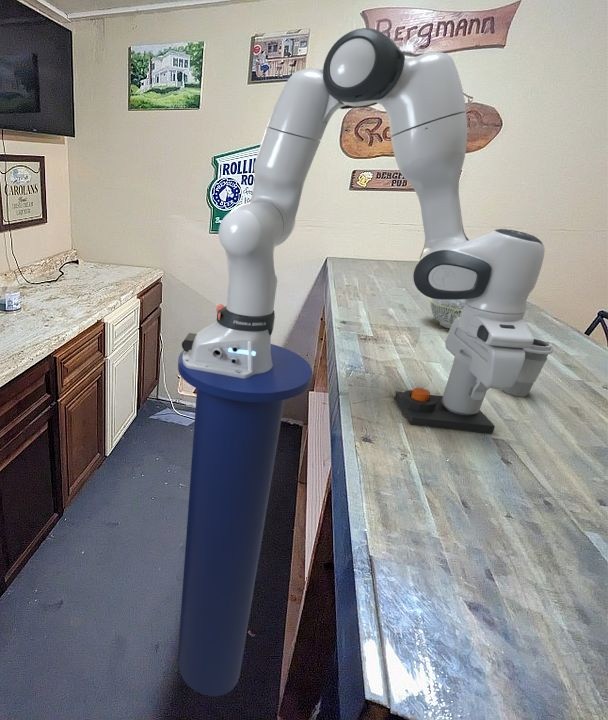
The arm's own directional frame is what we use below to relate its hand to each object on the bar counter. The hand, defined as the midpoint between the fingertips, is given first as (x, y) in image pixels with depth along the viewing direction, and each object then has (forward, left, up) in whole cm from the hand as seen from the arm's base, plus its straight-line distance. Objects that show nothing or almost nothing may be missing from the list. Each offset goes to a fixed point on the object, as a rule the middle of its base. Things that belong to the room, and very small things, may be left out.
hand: (466, 388), depth 89 cm
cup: (+17, +15, -6) cm, 24 cm away
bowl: (+21, +60, -6) cm, 64 cm away
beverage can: (0, 0, -5) cm, 5 cm away
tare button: (-8, 0, -3) cm, 8 cm away
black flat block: (-3, 0, -6) cm, 7 cm away
